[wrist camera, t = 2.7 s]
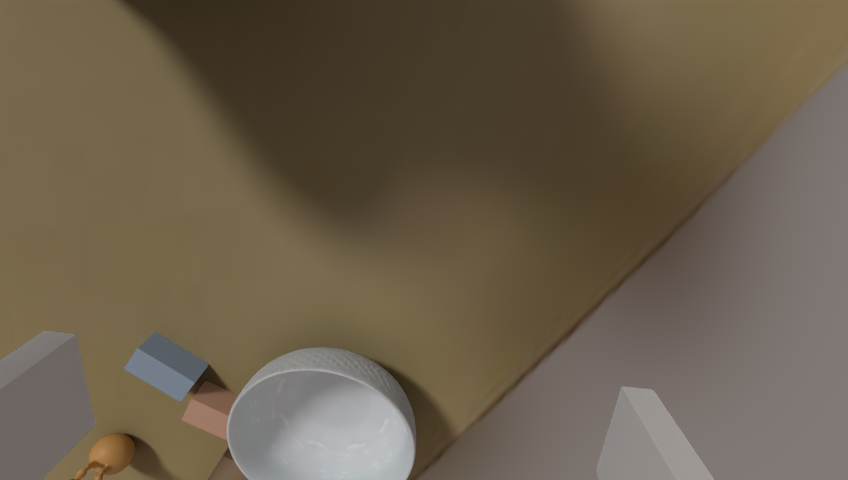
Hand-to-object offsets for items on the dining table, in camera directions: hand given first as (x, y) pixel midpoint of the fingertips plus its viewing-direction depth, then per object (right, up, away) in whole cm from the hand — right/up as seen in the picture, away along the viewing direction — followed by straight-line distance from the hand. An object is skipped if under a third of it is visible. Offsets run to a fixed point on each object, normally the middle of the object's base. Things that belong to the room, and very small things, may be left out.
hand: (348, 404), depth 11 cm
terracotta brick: (-19, -13, +36) cm, 42 cm away
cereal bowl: (-7, -12, +35) cm, 38 cm away
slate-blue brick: (-23, -8, +34) cm, 42 cm away
